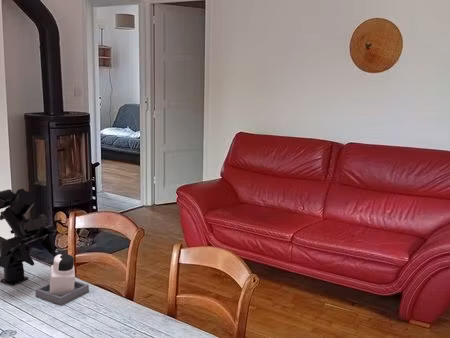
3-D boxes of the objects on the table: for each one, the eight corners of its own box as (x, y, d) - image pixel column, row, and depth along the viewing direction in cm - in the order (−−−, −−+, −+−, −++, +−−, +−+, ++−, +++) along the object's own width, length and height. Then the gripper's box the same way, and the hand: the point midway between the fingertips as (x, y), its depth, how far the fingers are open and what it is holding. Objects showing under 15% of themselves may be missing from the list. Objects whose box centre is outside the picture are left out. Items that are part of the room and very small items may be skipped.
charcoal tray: (35, 296, 159) (35, 289, 159) (64, 283, 169) (63, 276, 169) (60, 305, 154) (60, 298, 153) (88, 292, 163) (88, 284, 163)
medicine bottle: (72, 283, 166) (75, 251, 162) (73, 295, 159) (76, 262, 156) (49, 283, 163) (52, 251, 159) (49, 296, 157) (52, 263, 153)
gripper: (5, 215, 153) (33, 256, 151) (51, 201, 170) (77, 238, 167) (-10, 235, 158) (16, 275, 156) (36, 220, 175) (61, 256, 172)
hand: (44, 260), depth 162 cm, fingers open, 9 cm apart
